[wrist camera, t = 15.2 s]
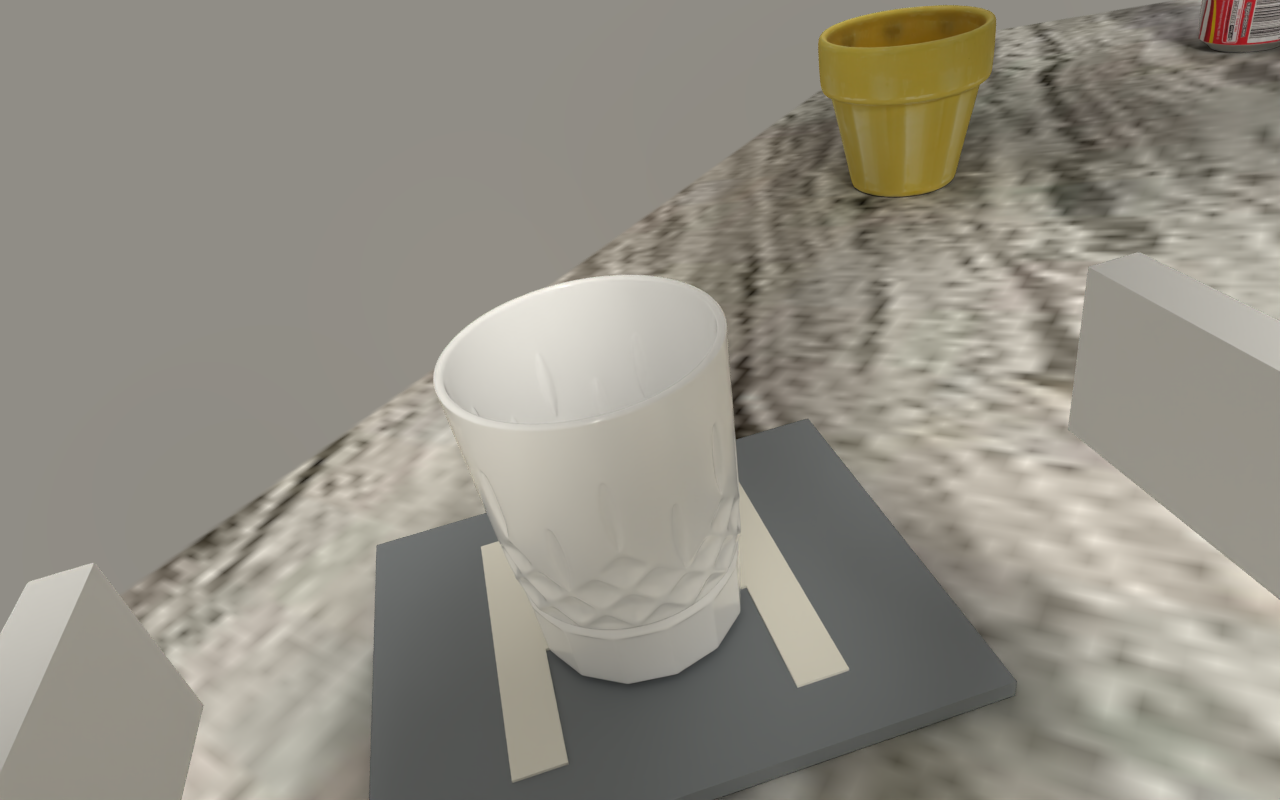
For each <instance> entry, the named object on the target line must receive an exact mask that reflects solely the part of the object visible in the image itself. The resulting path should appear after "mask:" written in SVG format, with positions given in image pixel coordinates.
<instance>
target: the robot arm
mask: <svg viewBox="0 0 1280 800" xmlns="http://www.w3.org/2000/svg"><path fill="white" fill-rule="evenodd" d="M1068 430H1069V431H1071V432H1072V433H1073V434H1074V435H1076V436H1077V437H1078V438H1079V439H1081V440H1082V441H1083V442H1084V443H1085V444H1087V445H1088V446H1089V447H1090V448H1092V449H1093V450H1094V451H1095V452H1097V453H1098V454H1099V455H1100V456H1102V457H1103V458H1104V459H1105V460H1107V461H1108V462H1109V463H1110V464H1112V465H1113V466H1114V467H1115V468H1117V469H1118V470H1119V471H1120V472H1122V473H1123V474H1124V475H1125V476H1127V477H1128V478H1129V479H1130V480H1131V481H1133V482H1134V483H1135V484H1136V485H1138V486H1139V487H1140V488H1141V489H1143V490H1144V491H1145V492H1146V493H1148V494H1149V495H1150V496H1151V497H1153V498H1154V499H1155V500H1156V501H1158V502H1159V503H1160V504H1161V505H1163V506H1164V507H1165V508H1166V509H1168V510H1169V511H1170V512H1171V513H1173V514H1174V515H1175V516H1176V517H1177V518H1179V519H1180V520H1181V521H1182V522H1184V523H1185V524H1186V525H1187V526H1189V527H1190V528H1191V529H1192V530H1194V531H1195V532H1196V533H1197V534H1199V535H1200V536H1201V537H1202V538H1204V539H1205V540H1206V541H1207V542H1209V543H1210V544H1211V545H1212V546H1214V547H1215V548H1216V549H1217V550H1219V551H1220V552H1221V553H1222V554H1223V555H1225V556H1226V557H1227V558H1228V559H1230V560H1231V561H1232V562H1233V563H1235V564H1236V565H1237V566H1238V567H1240V568H1241V569H1242V570H1243V571H1245V572H1246V573H1247V574H1248V575H1250V576H1251V577H1252V578H1253V579H1255V580H1256V581H1257V582H1258V583H1260V584H1261V585H1262V586H1263V587H1265V588H1266V589H1267V590H1268V591H1269V592H1271V593H1272V594H1273V595H1274V596H1276V597H1277V598H1278V599H1279V600H1280V320H1278V319H1275V318H1273V317H1271V316H1269V315H1267V314H1265V313H1263V312H1261V311H1259V310H1257V309H1255V308H1253V307H1251V306H1249V305H1247V304H1245V303H1243V302H1241V301H1239V300H1237V299H1235V298H1232V297H1230V296H1228V295H1226V294H1224V293H1222V292H1220V291H1218V290H1216V289H1214V288H1212V287H1210V286H1208V285H1206V284H1204V283H1202V282H1200V281H1198V280H1196V279H1194V278H1192V277H1189V276H1187V275H1185V274H1183V273H1181V272H1179V271H1177V270H1175V269H1173V268H1171V267H1169V266H1167V265H1165V264H1163V263H1161V262H1159V261H1157V260H1155V259H1153V258H1151V257H1149V256H1146V255H1144V254H1142V253H1140V252H1137V253H1133V254H1130V255H1127V256H1123V257H1120V258H1117V259H1113V260H1110V261H1106V262H1103V263H1100V264H1096V265H1093V266H1090V267H1088V274H1087V282H1086V290H1085V298H1084V306H1083V314H1082V322H1081V330H1080V338H1079V346H1078V354H1077V362H1076V370H1075V378H1074V385H1073V393H1072V401H1071V409H1070V417H1069V425H1068ZM202 710H203V704H202V703H201V701H200V700H199V699H198V697H197V696H196V695H195V693H194V692H193V691H192V689H191V688H190V687H189V686H188V684H187V683H186V682H185V680H184V679H183V678H182V676H181V675H180V674H179V672H178V671H177V670H176V668H175V667H174V666H173V665H172V663H171V662H170V661H169V659H168V658H167V657H166V655H165V654H164V653H163V651H162V650H161V649H160V648H159V646H158V645H157V644H156V642H155V641H154V640H153V638H152V637H151V636H150V634H149V633H148V632H147V630H146V629H145V628H144V627H143V625H142V624H141V623H140V621H139V620H138V619H137V617H136V616H135V615H134V613H133V612H132V611H131V610H130V608H129V607H128V606H127V604H126V603H125V602H124V600H123V599H122V598H121V596H120V595H119V594H118V592H117V591H116V590H115V589H114V587H113V586H112V585H111V583H110V582H109V581H108V579H107V578H106V577H105V576H104V574H103V573H102V572H101V571H100V569H99V568H98V566H97V565H96V564H95V563H91V564H87V565H84V566H80V567H77V568H74V569H70V570H67V571H64V572H60V573H57V574H53V575H50V576H47V577H43V578H40V579H37V580H33V581H30V582H28V583H27V585H26V586H25V589H24V590H23V592H22V594H21V596H20V598H19V600H18V602H17V603H16V605H15V607H14V609H13V611H12V613H11V615H10V617H9V619H8V620H7V622H6V624H5V626H4V628H3V630H2V632H1V634H0V800H181V799H182V794H183V790H184V786H185V782H186V777H187V773H188V769H189V765H190V761H191V756H192V752H193V748H194V744H195V739H196V735H197V731H198V727H199V722H200V718H201V714H202Z"/></svg>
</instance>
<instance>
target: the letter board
mask: <svg viewBox="0 0 1280 800" xmlns="http://www.w3.org/2000/svg"><path fill="white" fill-rule="evenodd" d="M736 451H737V464H738V478H739V493H740V498H739V511H740V522H741V534H740V538H739V541H738V546H739V556H740V567H741V608H740V614H739V615H738V617H737V618H736V620H735V622H734V623H733V625H732V626H731V628H730V629H729V631H728V633H727V634H726V636H725V637H724V639H723V640H722V642H721V644H720V645H719V647H718V648H717V649H715V650H714V651H712V652H711V653H709V654H708V655H706V656H705V657H703V658H702V659H700V660H698V661H697V662H695V663H694V664H692V665H691V666H689V667H688V668H686V669H684V670H683V671H681V672H680V673H678V674H676V675H671V676H666V677H661V678H656V679H651V680H646V681H641V682H636V683H631V684H624V683H619V682H614V681H608V680H603V679H598V678H592V677H587V676H583V675H581V674H580V673H578V672H577V671H576V670H574V669H573V668H572V667H571V666H569V665H568V664H567V663H565V662H564V661H563V660H562V659H560V658H559V657H558V656H557V655H555V654H554V653H553V652H551V651H550V649H549V647H548V645H547V642H546V640H545V637H544V635H543V632H542V630H541V627H540V625H539V622H538V620H537V617H536V615H535V612H534V610H533V607H532V605H531V603H530V601H529V599H528V597H527V594H526V592H525V590H524V589H523V587H522V586H521V584H520V583H519V582H518V581H517V580H516V578H515V574H514V572H513V571H512V569H511V567H510V565H509V563H508V560H507V558H506V556H505V554H504V552H503V549H502V547H501V545H500V543H499V541H498V539H497V537H496V534H495V532H494V530H493V527H492V525H491V523H490V520H489V518H488V515H487V513H485V514H481V515H478V516H475V517H471V518H468V519H464V520H461V521H458V522H454V523H451V524H447V525H444V526H441V527H437V528H434V529H430V530H427V531H424V532H420V533H417V534H413V535H410V536H407V537H403V538H400V539H396V540H393V541H390V542H386V543H383V544H379V545H377V552H376V586H375V620H374V654H373V689H372V723H371V757H370V791H369V800H714V799H717V798H720V797H723V796H726V795H729V794H731V793H734V792H737V791H740V790H743V789H746V788H749V787H752V786H755V785H757V784H760V783H763V782H766V781H769V780H772V779H775V778H778V777H781V776H783V775H786V774H789V773H792V772H795V771H798V770H801V769H804V768H807V767H809V766H812V765H815V764H818V763H821V762H824V761H827V760H830V759H833V758H835V757H838V756H841V755H844V754H847V753H850V752H853V751H856V750H859V749H861V748H864V747H867V746H870V745H873V744H876V743H879V742H882V741H884V740H887V739H890V738H893V737H896V736H899V735H902V734H905V733H908V732H910V731H913V730H916V729H919V728H922V727H925V726H928V725H931V724H934V723H936V722H939V721H942V720H945V719H948V718H951V717H954V716H957V715H960V714H962V713H965V712H968V711H971V710H974V709H977V708H980V707H983V706H986V705H988V704H991V703H994V702H997V701H1000V700H1003V699H1006V698H1009V697H1012V696H1014V695H1015V693H1016V685H1017V681H1016V680H1015V678H1014V677H1013V676H1012V675H1011V673H1010V672H1009V671H1008V670H1007V668H1006V667H1005V666H1004V665H1003V663H1002V662H1001V661H1000V660H999V658H998V657H997V656H996V655H995V653H994V652H993V651H992V649H991V648H990V647H989V646H988V644H987V643H986V642H985V641H984V639H983V638H982V637H981V636H980V634H979V633H978V632H977V631H976V629H975V628H974V627H973V626H972V624H971V623H970V622H969V621H968V619H967V618H966V617H965V616H964V614H963V613H962V612H961V610H960V609H959V608H958V607H957V605H956V604H955V603H954V602H953V600H952V599H951V598H950V597H949V595H948V594H947V593H946V592H945V590H944V589H943V588H942V587H941V585H940V584H939V583H938V582H937V580H936V579H935V578H934V576H933V575H932V574H931V573H930V571H929V570H928V569H927V568H926V566H925V565H924V564H923V563H922V561H921V560H920V559H919V558H918V556H917V555H916V554H915V553H914V551H913V550H912V549H911V548H910V546H909V545H908V544H907V542H906V541H905V540H904V539H903V537H902V536H901V535H900V534H899V532H898V531H897V530H896V529H895V527H894V526H893V525H892V524H891V522H890V521H889V520H888V519H887V517H886V516H885V515H884V514H883V512H882V511H881V510H880V508H879V507H878V506H877V505H876V503H875V502H874V501H873V500H872V498H871V497H870V496H869V495H868V493H867V492H866V491H865V490H864V488H863V487H862V486H861V485H860V483H859V482H858V481H857V480H856V478H855V477H854V476H853V475H852V473H851V472H850V471H849V469H848V468H847V467H846V466H845V464H844V463H843V462H842V461H841V459H840V458H839V457H838V456H837V454H836V453H835V452H834V451H833V449H832V448H831V447H830V446H829V444H828V443H827V442H826V441H825V439H824V438H823V437H822V435H821V434H820V433H819V432H818V430H817V429H816V428H815V427H814V425H813V424H812V423H811V422H810V420H809V419H804V420H801V421H797V422H794V423H791V424H787V425H784V426H780V427H777V428H774V429H770V430H767V431H763V432H760V433H757V434H753V435H750V436H746V437H743V438H740V439H736Z"/></svg>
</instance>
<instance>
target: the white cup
mask: <svg viewBox="0 0 1280 800" xmlns="http://www.w3.org/2000/svg"><path fill="white" fill-rule="evenodd" d="M433 383H434V389H435V392H436V394H437V397H438V399H439V401H440V404H441V406H442V408H443V411H444V413H445V415H446V418H447V420H448V423H449V425H450V427H451V430H452V432H453V434H454V437H455V439H456V441H457V444H458V446H459V448H460V451H461V453H462V456H463V458H464V460H465V463H466V465H467V467H468V470H469V472H470V475H471V477H472V479H473V482H474V484H475V487H476V489H477V491H478V494H479V496H480V499H481V501H482V503H483V506H484V508H485V511H486V513H487V515H488V518H489V520H490V523H491V525H492V527H493V530H494V532H495V534H496V537H497V539H498V541H499V543H500V545H501V547H502V549H503V552H504V554H505V556H506V558H507V560H508V563H509V565H510V567H511V569H512V571H513V572H514V574H515V578H516V580H517V581H518V582H519V583H520V584H521V586H522V587H523V589H524V590H525V592H526V594H527V597H528V599H529V601H530V603H531V605H532V607H533V610H534V612H535V615H536V617H537V620H538V622H539V625H540V627H541V630H542V632H543V635H544V637H545V640H546V642H547V645H548V647H549V649H550V651H551V652H553V653H554V654H555V655H557V656H558V657H559V658H560V659H562V660H563V661H564V662H565V663H567V664H568V665H569V666H571V667H572V668H573V669H574V670H576V671H577V672H578V673H580V674H581V675H583V676H587V677H592V678H598V679H603V680H608V681H614V682H619V683H624V684H631V683H636V682H641V681H646V680H651V679H656V678H661V677H666V676H671V675H676V674H678V673H680V672H681V671H683V670H684V669H686V668H688V667H689V666H691V665H692V664H694V663H695V662H697V661H698V660H700V659H702V658H703V657H705V656H706V655H708V654H709V653H711V652H712V651H714V650H715V649H717V648H718V647H719V645H720V644H721V642H722V640H723V639H724V637H725V636H726V634H727V633H728V631H729V629H730V628H731V626H732V625H733V623H734V622H735V620H736V618H737V617H738V615H739V614H740V608H741V567H740V556H739V546H738V541H739V538H740V534H741V522H740V511H739V498H740V493H739V478H738V464H737V451H736V438H735V426H734V414H733V401H732V389H731V375H730V361H729V347H728V333H727V322H726V317H725V314H724V312H723V310H722V308H721V307H720V305H719V304H718V303H717V301H716V300H715V299H714V298H712V297H711V296H710V295H709V294H707V293H706V292H704V291H703V290H701V289H699V288H697V287H695V286H693V285H690V284H687V283H685V282H681V281H678V280H674V279H670V278H664V277H658V276H649V275H609V276H598V277H591V278H584V279H578V280H573V281H568V282H564V283H560V284H556V285H552V286H549V287H545V288H542V289H539V290H536V291H533V292H530V293H527V294H525V295H522V296H520V297H518V298H515V299H513V300H510V301H508V302H506V303H504V304H502V305H500V306H498V307H496V308H494V309H492V310H490V311H489V312H487V313H485V314H484V315H482V316H481V317H479V318H477V319H476V320H475V321H473V322H472V323H471V324H469V325H468V326H466V327H465V328H464V329H463V330H462V331H461V332H459V333H458V334H457V335H456V336H455V337H454V338H453V339H452V340H451V342H450V343H449V344H448V345H447V346H446V348H445V349H444V350H443V352H442V353H441V355H440V357H439V359H438V361H437V363H436V366H435V369H434V375H433Z"/></svg>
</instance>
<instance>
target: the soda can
mask: <svg viewBox="0 0 1280 800" xmlns="http://www.w3.org/2000/svg"><path fill="white" fill-rule="evenodd" d="M1198 38H1199V39H1200V40H1201V41H1203V42H1204V43H1206V44H1207V45H1209V47H1210V48H1211V49H1213V50H1217V51H1222V52H1255V51H1263V50H1268V49H1272V48H1276V47H1278V46H1280V0H1202V5H1201V11H1200V19H1199V33H1198Z"/></svg>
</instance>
